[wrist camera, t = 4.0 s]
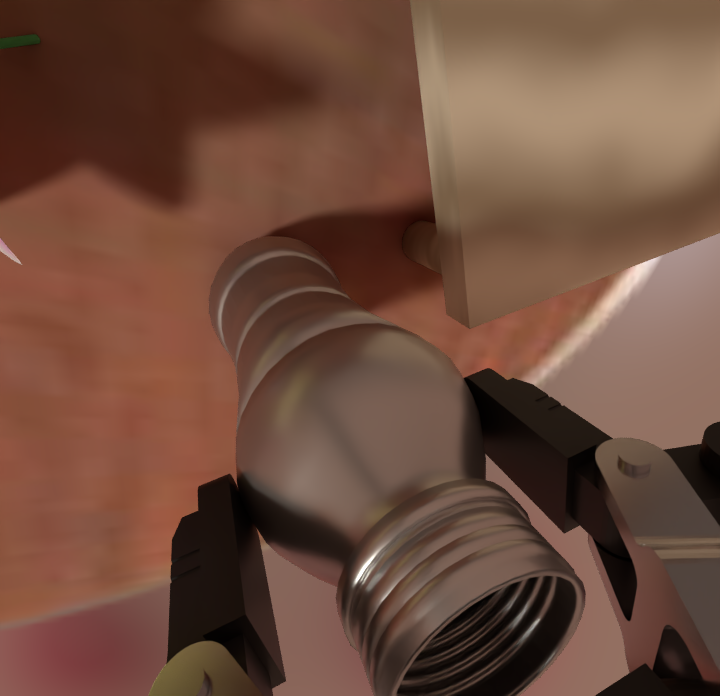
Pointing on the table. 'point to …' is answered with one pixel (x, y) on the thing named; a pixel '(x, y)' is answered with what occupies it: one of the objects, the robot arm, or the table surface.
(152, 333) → the table surface
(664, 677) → the robot arm
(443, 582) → the plastic bottle
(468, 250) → the footstool
